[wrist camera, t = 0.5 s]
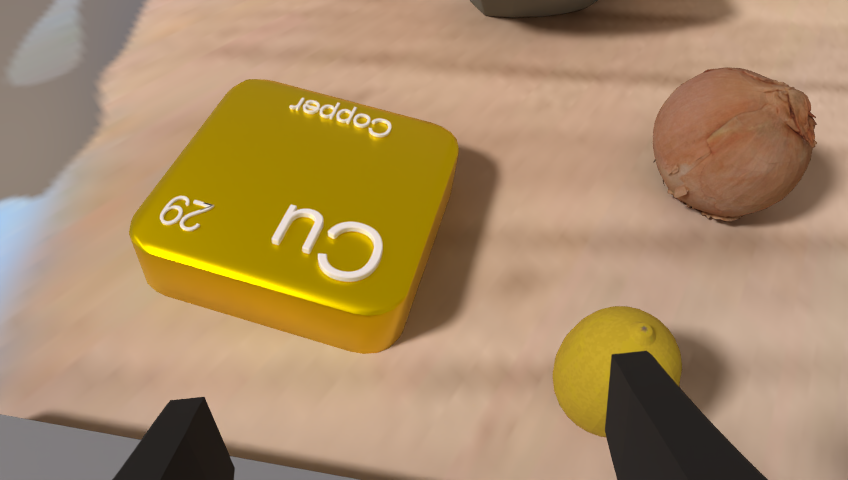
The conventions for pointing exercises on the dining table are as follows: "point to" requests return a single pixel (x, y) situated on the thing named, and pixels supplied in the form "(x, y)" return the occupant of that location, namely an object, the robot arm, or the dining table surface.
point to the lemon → (606, 360)
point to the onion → (733, 142)
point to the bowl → (529, 7)
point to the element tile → (300, 214)
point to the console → (97, 455)
